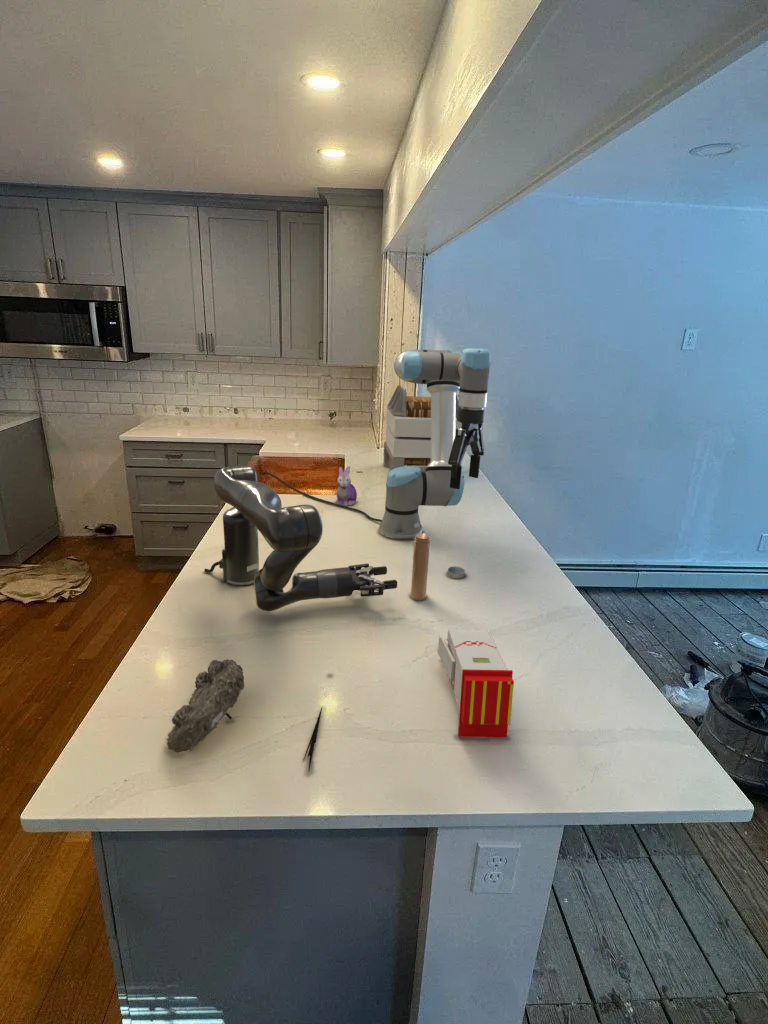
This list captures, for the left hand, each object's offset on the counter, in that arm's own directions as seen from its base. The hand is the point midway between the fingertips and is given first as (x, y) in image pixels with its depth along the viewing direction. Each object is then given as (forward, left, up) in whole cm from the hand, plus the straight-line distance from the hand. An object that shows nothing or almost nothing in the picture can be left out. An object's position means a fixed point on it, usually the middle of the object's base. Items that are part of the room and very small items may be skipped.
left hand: (391, 576), depth 153 cm
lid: (+18, +19, -5) cm, 27 cm away
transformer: (-1, +128, -7) cm, 128 cm away
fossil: (-28, -54, -7) cm, 61 cm away
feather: (-8, -51, -7) cm, 51 cm away
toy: (+21, -37, -7) cm, 43 cm away
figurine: (-27, +76, -7) cm, 81 cm away
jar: (+7, +3, -7) cm, 10 cm away
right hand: (+18, +19, +22) cm, 34 cm away
